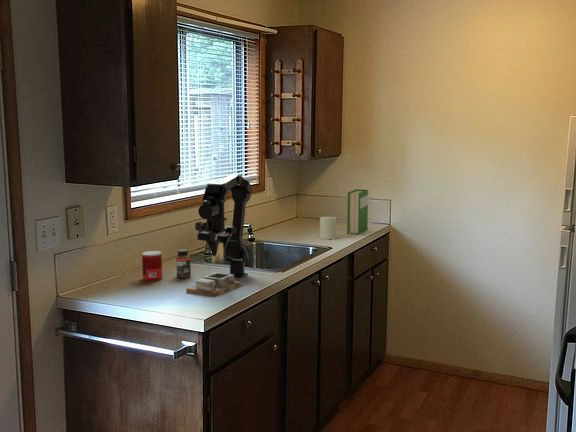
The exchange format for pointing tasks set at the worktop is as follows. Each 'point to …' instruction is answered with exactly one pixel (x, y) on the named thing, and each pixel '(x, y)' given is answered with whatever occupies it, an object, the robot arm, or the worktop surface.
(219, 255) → the cylinder
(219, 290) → the jig
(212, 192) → the robot arm
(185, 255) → the supplement bottle
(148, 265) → the canned food
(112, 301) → the worktop surface
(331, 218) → the can
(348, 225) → the hardback book
